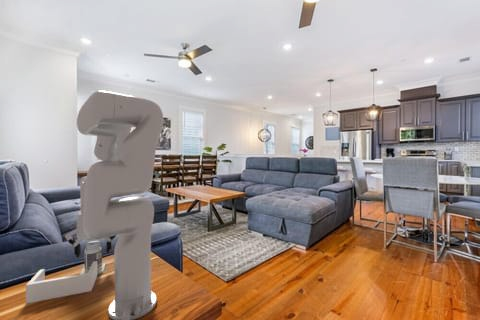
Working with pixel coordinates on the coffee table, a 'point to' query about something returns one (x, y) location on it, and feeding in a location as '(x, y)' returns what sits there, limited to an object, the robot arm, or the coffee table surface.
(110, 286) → the coffee table surface
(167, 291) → the coffee table surface
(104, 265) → the tile
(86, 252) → the pill bottle
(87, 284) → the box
